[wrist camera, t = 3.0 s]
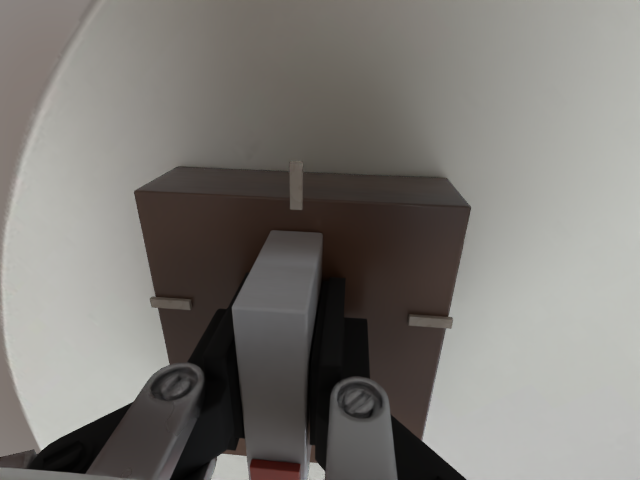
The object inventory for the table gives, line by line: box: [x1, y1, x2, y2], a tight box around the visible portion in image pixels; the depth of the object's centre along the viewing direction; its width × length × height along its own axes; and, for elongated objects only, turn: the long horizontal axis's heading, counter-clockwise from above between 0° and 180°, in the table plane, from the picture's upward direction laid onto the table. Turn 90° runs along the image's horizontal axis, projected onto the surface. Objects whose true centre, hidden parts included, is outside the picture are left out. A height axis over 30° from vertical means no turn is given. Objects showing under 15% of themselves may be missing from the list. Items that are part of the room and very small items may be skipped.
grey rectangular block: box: [232, 230, 323, 480], centre depth 10 cm, size 6×2×4 cm, turn 179°
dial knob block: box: [134, 161, 471, 463], centre depth 14 cm, size 13×10×3 cm
